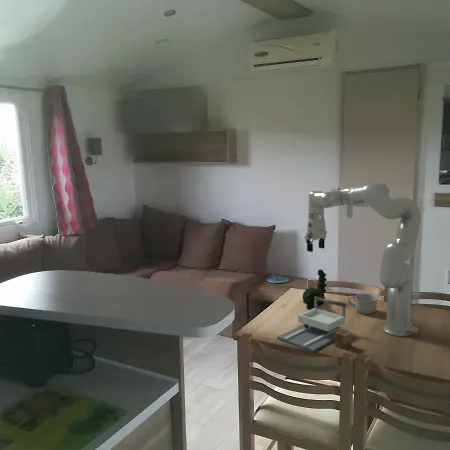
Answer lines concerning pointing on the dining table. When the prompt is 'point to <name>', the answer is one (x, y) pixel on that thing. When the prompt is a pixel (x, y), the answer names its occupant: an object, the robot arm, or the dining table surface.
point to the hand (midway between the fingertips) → (315, 249)
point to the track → (309, 337)
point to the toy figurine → (315, 292)
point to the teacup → (364, 303)
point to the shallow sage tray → (322, 317)
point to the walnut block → (343, 339)
